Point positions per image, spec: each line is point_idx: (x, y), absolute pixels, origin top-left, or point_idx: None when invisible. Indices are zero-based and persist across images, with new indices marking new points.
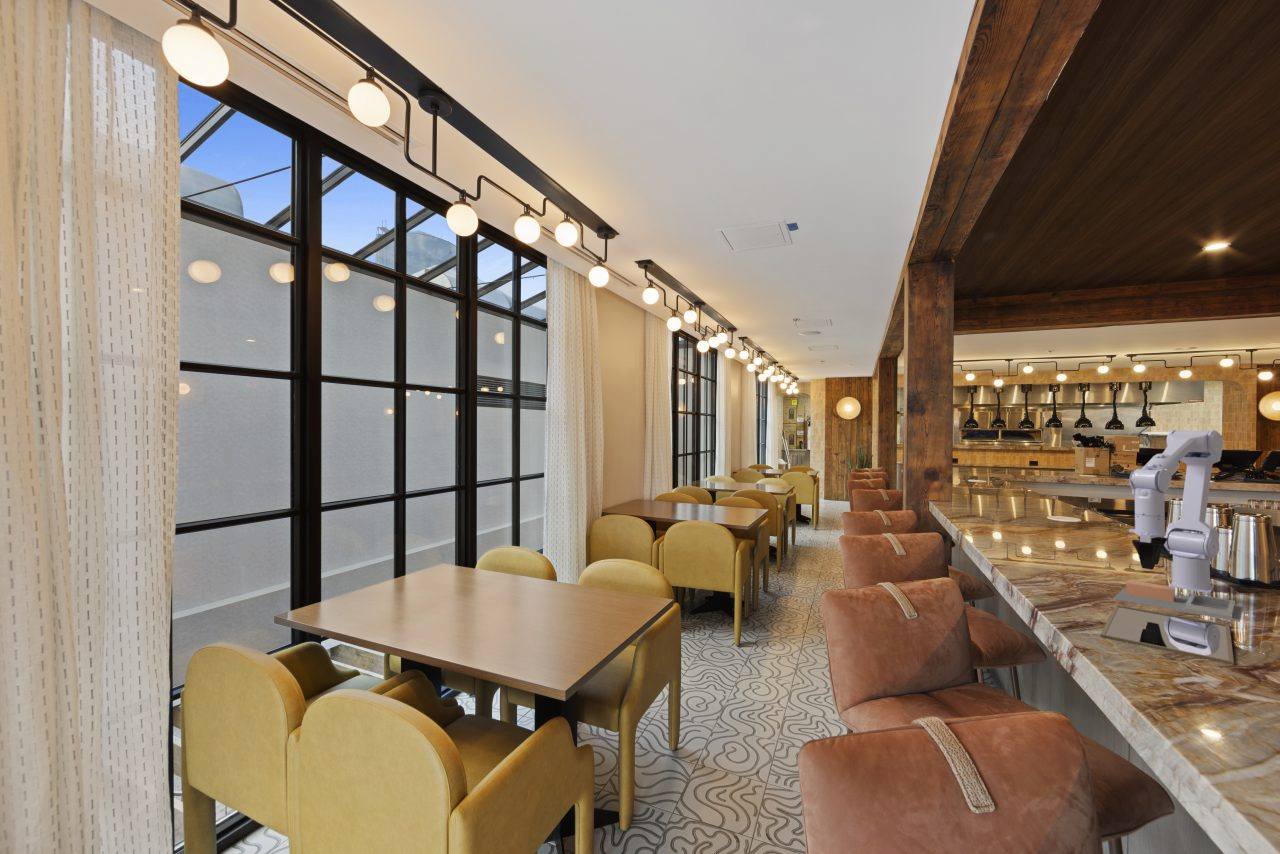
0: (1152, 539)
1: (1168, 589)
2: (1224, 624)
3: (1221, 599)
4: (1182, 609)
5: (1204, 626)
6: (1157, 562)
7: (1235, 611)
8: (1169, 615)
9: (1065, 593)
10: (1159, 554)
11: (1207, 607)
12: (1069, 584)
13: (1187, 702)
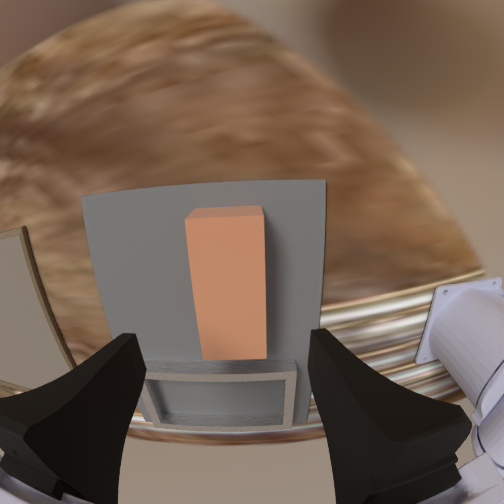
0: (358, 492)
1: (202, 349)
2: None
3: (283, 414)
4: None
5: (48, 375)
6: (311, 377)
7: None
8: (53, 332)
9: (57, 76)
10: (323, 422)
11: (147, 401)
12: (208, 22)
13: None
